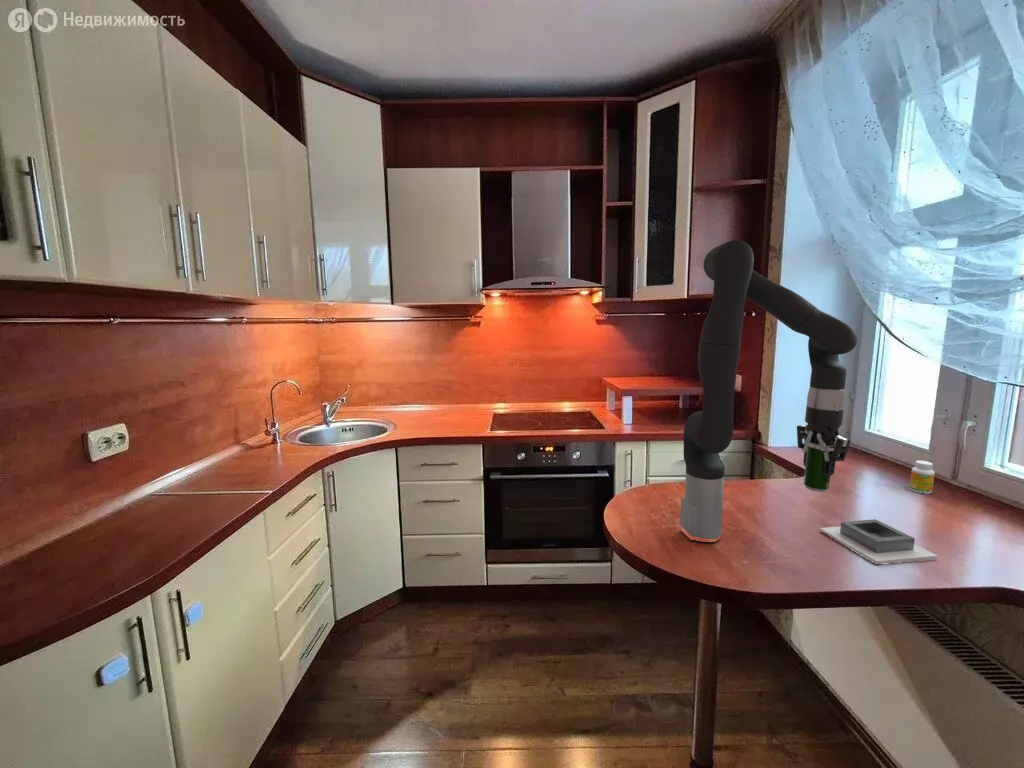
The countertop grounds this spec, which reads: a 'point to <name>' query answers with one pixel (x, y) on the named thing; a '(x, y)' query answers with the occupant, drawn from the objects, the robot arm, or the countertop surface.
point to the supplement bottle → (922, 477)
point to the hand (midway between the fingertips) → (817, 470)
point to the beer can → (816, 469)
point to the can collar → (891, 537)
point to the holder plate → (881, 558)
